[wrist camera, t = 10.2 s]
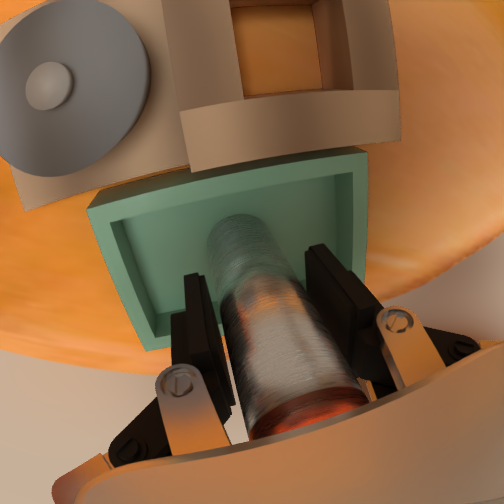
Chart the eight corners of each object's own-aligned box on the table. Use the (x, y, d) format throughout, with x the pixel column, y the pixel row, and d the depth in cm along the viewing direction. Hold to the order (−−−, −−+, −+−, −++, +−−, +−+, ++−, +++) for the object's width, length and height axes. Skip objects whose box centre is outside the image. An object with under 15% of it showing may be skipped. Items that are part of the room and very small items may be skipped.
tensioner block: (346, -30, 10) (397, -55, 6) (366, 130, 15) (422, 148, 11) (1, 35, 8) (-50, 26, 4) (36, 200, 13) (-5, 241, 9)
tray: (341, 142, 15) (367, 152, 13) (343, 273, 19) (362, 297, 17) (99, 190, 14) (86, 209, 11) (147, 321, 18) (145, 351, 15)
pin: (267, 207, 15) (405, 418, 5) (274, 263, 17) (377, 467, 7) (200, 221, 15) (253, 471, 5) (213, 277, 16) (268, 503, 7)
